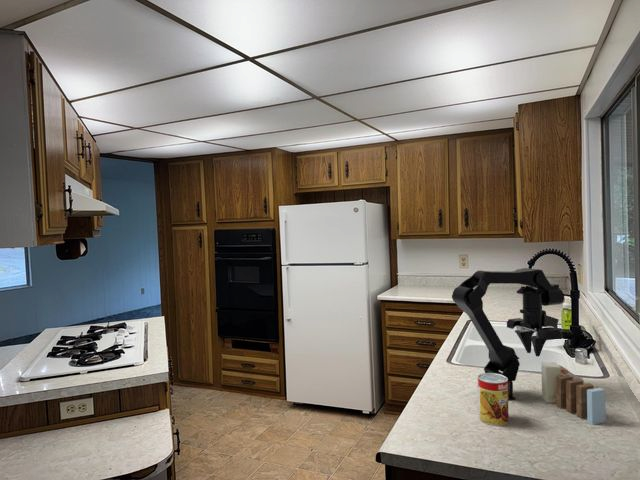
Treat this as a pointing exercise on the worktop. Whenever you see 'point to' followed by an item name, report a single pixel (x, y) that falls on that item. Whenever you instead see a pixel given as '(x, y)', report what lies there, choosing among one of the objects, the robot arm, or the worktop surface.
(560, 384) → the domino
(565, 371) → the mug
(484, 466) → the worktop surface
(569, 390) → the domino
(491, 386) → the canned food
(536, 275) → the robot arm
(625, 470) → the worktop surface
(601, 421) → the domino
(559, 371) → the box
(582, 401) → the domino
